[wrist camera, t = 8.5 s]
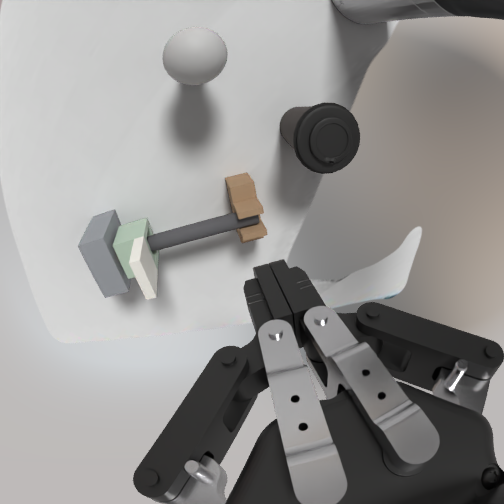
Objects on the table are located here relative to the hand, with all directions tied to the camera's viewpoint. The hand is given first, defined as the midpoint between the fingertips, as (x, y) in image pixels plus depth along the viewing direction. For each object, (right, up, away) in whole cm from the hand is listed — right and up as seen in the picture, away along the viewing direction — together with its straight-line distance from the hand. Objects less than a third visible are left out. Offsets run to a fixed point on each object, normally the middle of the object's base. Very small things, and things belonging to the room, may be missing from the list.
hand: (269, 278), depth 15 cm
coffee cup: (+5, +18, +23) cm, 30 cm away
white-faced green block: (-16, +3, +24) cm, 28 cm away
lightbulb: (-8, +24, +16) cm, 30 cm away
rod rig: (-11, +6, +26) cm, 29 cm away
